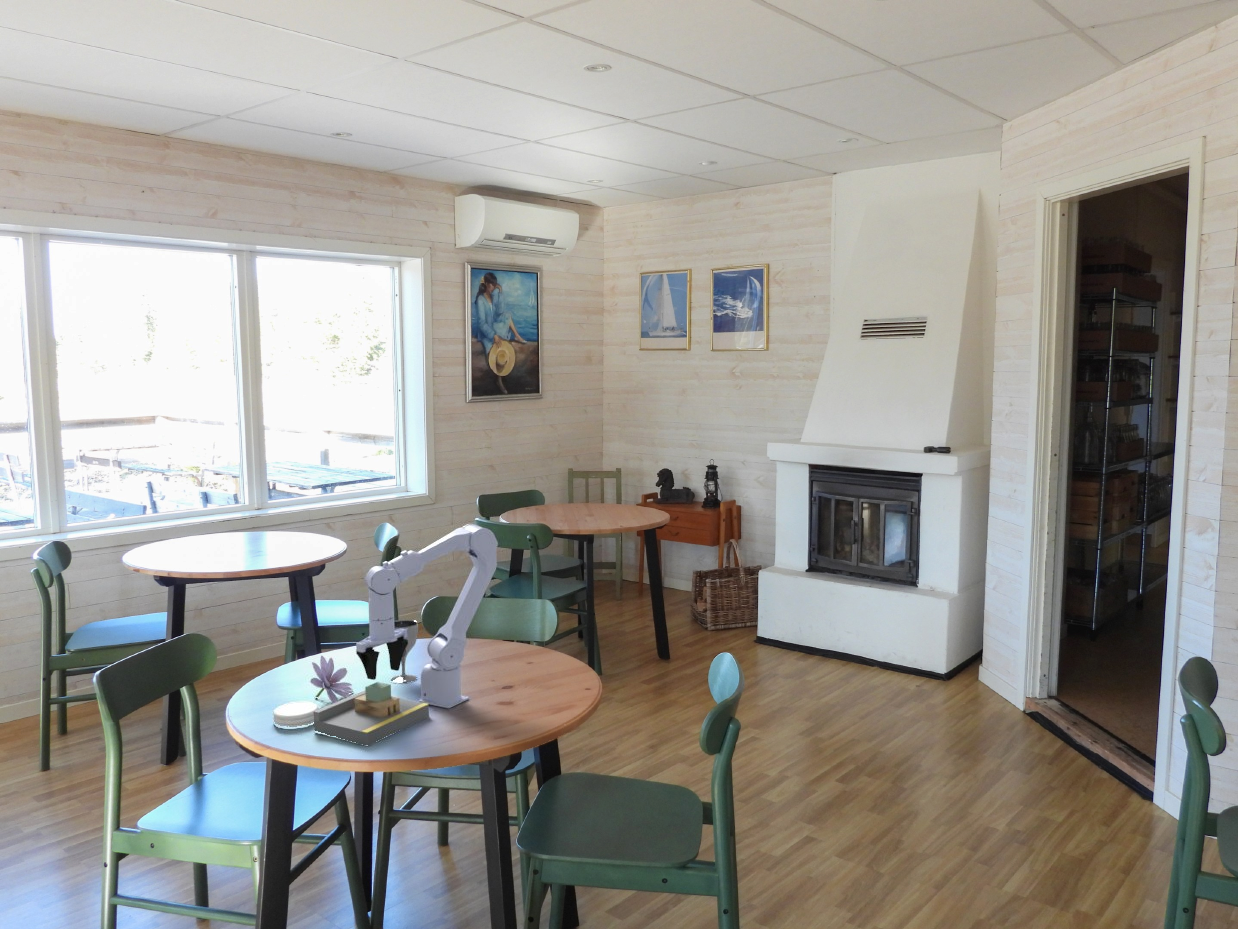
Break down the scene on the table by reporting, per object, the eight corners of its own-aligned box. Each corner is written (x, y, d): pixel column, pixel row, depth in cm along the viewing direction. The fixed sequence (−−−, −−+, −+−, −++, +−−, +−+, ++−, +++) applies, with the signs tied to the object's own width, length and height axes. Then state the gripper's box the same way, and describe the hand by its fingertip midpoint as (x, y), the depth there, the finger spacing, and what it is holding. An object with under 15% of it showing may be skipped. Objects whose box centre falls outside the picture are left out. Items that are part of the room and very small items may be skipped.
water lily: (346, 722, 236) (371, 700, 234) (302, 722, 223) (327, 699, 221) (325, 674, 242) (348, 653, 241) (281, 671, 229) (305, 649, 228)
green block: (365, 699, 214) (365, 687, 214) (378, 694, 218) (377, 681, 217) (378, 702, 212) (378, 689, 212) (391, 697, 216) (390, 684, 215)
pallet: (354, 711, 215) (354, 698, 215) (370, 704, 220) (370, 692, 219) (384, 717, 211) (383, 704, 211) (399, 710, 215) (399, 698, 215)
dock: (314, 733, 210) (313, 711, 210) (377, 705, 227) (377, 685, 227) (367, 746, 202) (366, 724, 202) (429, 716, 220) (428, 696, 219)
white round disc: (266, 723, 217) (265, 708, 217) (307, 712, 224) (306, 697, 224) (285, 734, 210) (284, 719, 210) (327, 722, 217) (326, 708, 217)
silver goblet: (421, 682, 245) (420, 625, 243) (390, 685, 242) (388, 628, 240) (416, 673, 252) (414, 618, 251) (386, 676, 249) (384, 621, 248)
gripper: (371, 627, 212) (373, 685, 213) (415, 613, 224) (417, 668, 226) (348, 623, 216) (351, 680, 217) (394, 609, 228) (395, 664, 229)
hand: (383, 674), depth 222 cm, fingers open, 7 cm apart
